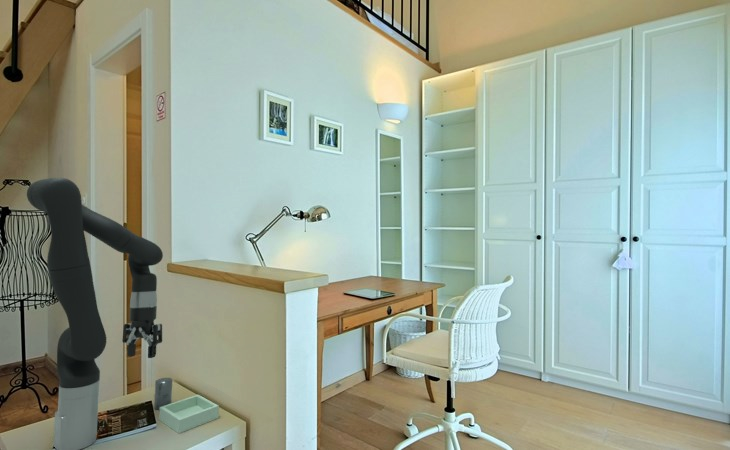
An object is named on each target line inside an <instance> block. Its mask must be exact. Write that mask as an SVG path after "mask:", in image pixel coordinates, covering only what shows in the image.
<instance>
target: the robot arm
mask: <svg viewBox="0 0 730 450" xmlns="http://www.w3.org/2000/svg"><path fill="white" fill-rule="evenodd" d="M26 198H27V201H28V202H29V204H30V205H31V206H32V207H33V208H35V209H37V210H39V211H41V212H44V213H46V214H47V217H48V221H49V224H50V231H51V238H50V243H49V246H48V252H47V259H46V264H47V271H48V277H49V281H50V284H51V287H52V290H53V293H54V295H55V296H56V298H57V300H58V302H59V303H60V305H61V307H62V309H63V310H64V313H65V315H66V318H67V321H68V327H67V328H66V329H64V331H63V332H62V333H61V335H60V336H59V338H58V341H57V347H56V373H57V377H58V380H59V384H58V403H57V411H55V412H54V426H53V444H52V446H53V448H54V447H55V448H56V449H57V450H82V449H85V448H87V447H90V446H91V445H92V444H94V443H95V442H96V440H97V436H98V435H97V433H98V416H99V413H98V412H99V401H100V400H99V397H100V396H99V395H100V379H101V378H100V377H101V370H100V368H99V367H98V365H97V363H96V359H98V358H99V357H100V356H101V355H102V354H103V352H104V350H105V348H106V346H107V334H106V330H105V328H104V325H103V321H102V319H101V315H100V312H99V308H98V302H97V297H96V291H95V286H94V279H93V278H94V277H93V272H92V267H91V266H92V265H91V262H90V257H89V251H88V245H87V241H86V235H85V232H86V233H87V234H88V235H90V236H92V237H93V238H96V239H97V240H99V241H101V242H102V243H104V244H105V245H106V246H109V247H110V248H112V249H113V250H115V251H116V252H118V253H121V254H128V258H127V262H128V267H129V271H130V276H131V279H132V281H131V294H130V295H131V296H130V303H129V321H130V323H124V325H123V328H122V329H123V330H122V341H121V342H122V343H125V344H126V345H127V352H126V353H127V357H128V358H129V357H130V358H132V357H135V355H136V350H137V348H136V346H137V344H136V343H137V341H138V340H139V339H144V341H146V342H147V344H148V346H147V347H148V348H147V358H148V359H153V358H155V357H156V355H157V345H159V344H162V343H163V324H162V323H157V324H155V320H156V319H157V308H158V306H157V303H158V294H157V285H158V280H157V279H158V278H157V275H156V274H155V273H152V272H151V271H150V266H155V265H158V264H159V263H160V262H161V261H162V260H163V257H164V255H163V251H162V249H161V247H160V246H159V245H157V244H156V243H155V242H152V241H150V240H148V239H146V238H144V237H142V236H139V235H137V234H135V233H134V232H133V231H131V230H129V229H128V228H126V227H125V226H124V225H122V224H121V223H119V222H117V221H116V220H113V219H112V218H110V217H107V216H105V215H103V214H101V213H98V212H96V211H94V210H92V209H91V208H88V207H87V206H85V205H83V204H82V203H83V202H82V201H83V200H82V194H81V191H80V189H79V187H78V185H77V184H76V183H75V182H74V181H72V180H70V179H68V178H65V177H53V178H44V179H39V180H36V181H34V182H32V183H31V184H30V185H29V186H28V188H27V190H26ZM55 448H54V449H55ZM56 449H55V450H56Z"/></svg>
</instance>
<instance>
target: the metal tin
mask: <svg viewBox="0 0 730 450" xmlns="http://www.w3.org/2000/svg"><path fill="white" fill-rule="evenodd" d="M154 386H155V387H154V402H153V403H154V405H153V409H154V410H156V411H160V407H162V406H165V405H168V404H171V403H172V399H173V398H172V393H173V378H172V377H161V378H158V379H156V380H155V385H154Z"/></svg>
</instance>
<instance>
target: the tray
mask: <svg viewBox="0 0 730 450" xmlns="http://www.w3.org/2000/svg"><path fill="white" fill-rule="evenodd" d="M219 409H220V405H219V404H216V403H214V402H213V401H211V400H209V399H207V398H205V397H203V396H202V395H200V394H195V395H193V396H192V395H191V396H190V397H187V398H183V399H180V400H178V401H177V400H176V401H175V402H171V404H168V405H165V406H162V407H160V410H158V411H159V415H158V420H159V421H160V422H162V423H163V424H164V425H166V426H167V427H169V428H170V429H172V430H173V431H174V432H176V433H177V434H182V433H185V432H186V431H189V430H192V429H194V428H196V427H199V426H201V425H203V424H204V425H205V424H206V423H209V422H211V421H214V420H217V419H219V412H220V411H219Z"/></svg>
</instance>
